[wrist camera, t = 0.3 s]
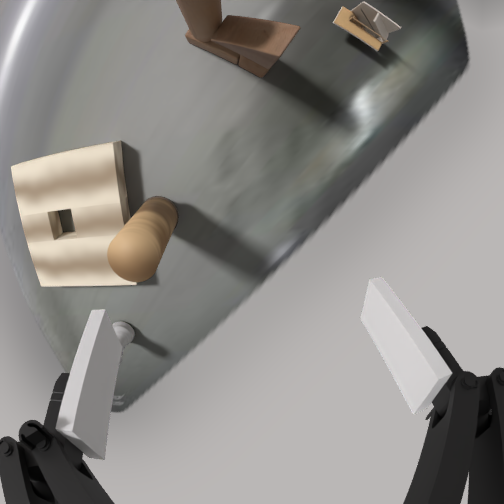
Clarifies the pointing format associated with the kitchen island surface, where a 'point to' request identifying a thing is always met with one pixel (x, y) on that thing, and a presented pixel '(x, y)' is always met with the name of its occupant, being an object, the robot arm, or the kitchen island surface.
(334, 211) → the kitchen island surface
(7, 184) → the kitchen island surface
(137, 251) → the oak leg
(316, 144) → the kitchen island surface
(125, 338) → the rook chess piece
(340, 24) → the architectural model
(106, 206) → the birch board
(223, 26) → the wooden post with wedge
